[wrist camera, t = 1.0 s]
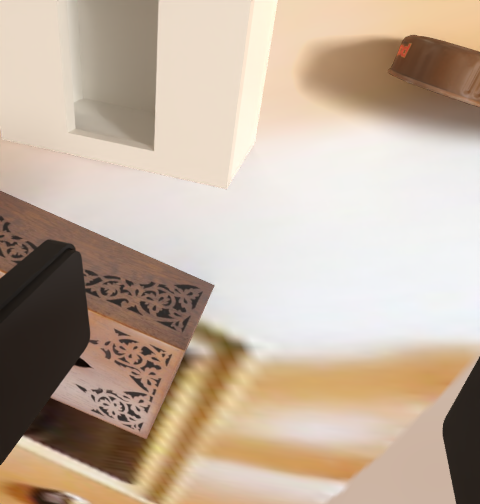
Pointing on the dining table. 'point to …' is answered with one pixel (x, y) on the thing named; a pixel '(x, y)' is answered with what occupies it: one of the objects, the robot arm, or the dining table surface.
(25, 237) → the tissue box cover
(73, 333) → the robot arm
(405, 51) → the tin
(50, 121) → the white rectangular block
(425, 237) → the dining table surface
